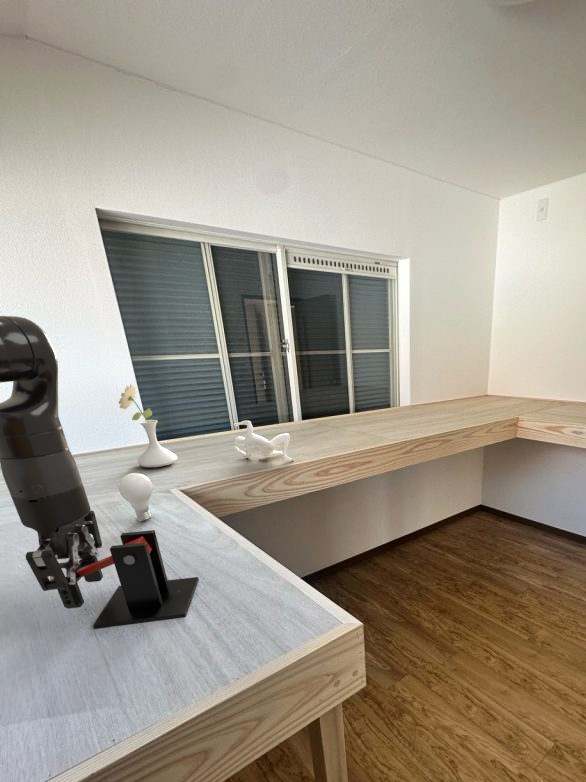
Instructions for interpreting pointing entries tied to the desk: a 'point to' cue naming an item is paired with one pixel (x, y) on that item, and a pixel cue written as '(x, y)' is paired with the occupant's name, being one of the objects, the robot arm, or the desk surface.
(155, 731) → the desk surface
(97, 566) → the switch lever
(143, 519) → the lightbulb
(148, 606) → the switch base
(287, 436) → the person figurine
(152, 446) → the flower in vase
